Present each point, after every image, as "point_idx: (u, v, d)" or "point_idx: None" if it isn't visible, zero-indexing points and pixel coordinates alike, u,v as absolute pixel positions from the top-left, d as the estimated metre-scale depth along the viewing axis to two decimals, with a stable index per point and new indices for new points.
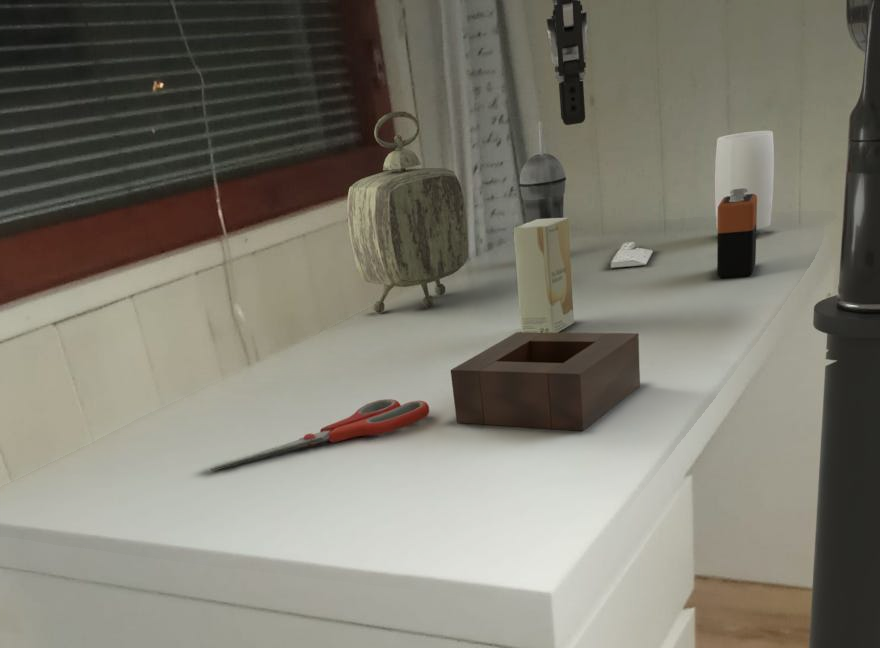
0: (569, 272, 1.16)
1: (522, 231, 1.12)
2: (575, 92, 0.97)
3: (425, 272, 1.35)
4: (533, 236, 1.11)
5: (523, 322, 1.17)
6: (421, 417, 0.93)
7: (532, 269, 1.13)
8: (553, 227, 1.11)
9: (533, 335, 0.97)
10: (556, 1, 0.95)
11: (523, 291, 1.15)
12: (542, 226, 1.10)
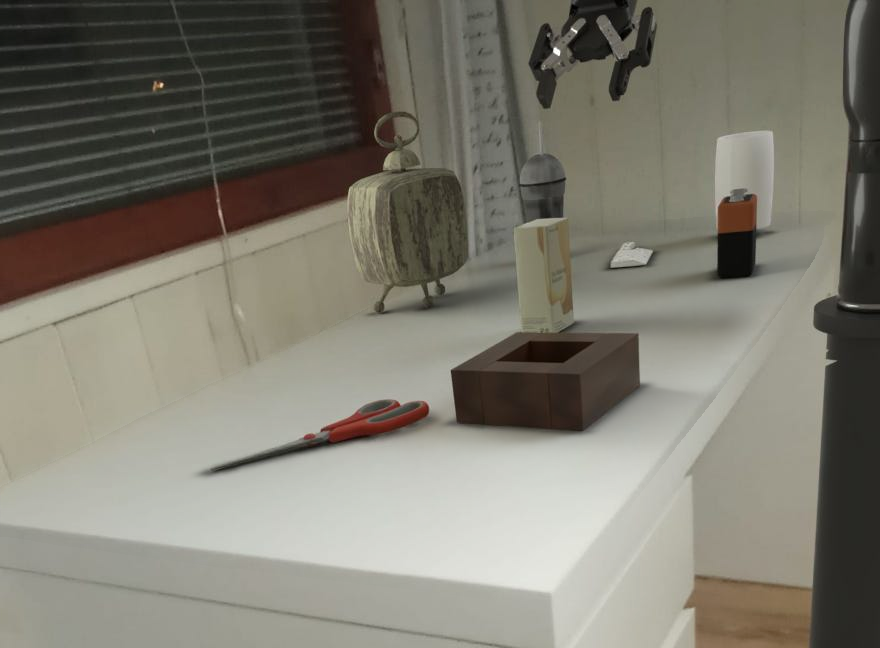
0: (569, 272, 1.16)
1: (522, 231, 1.12)
2: None
3: (425, 272, 1.35)
4: (533, 236, 1.11)
5: (523, 322, 1.16)
6: (421, 417, 0.93)
7: (532, 269, 1.13)
8: (553, 227, 1.11)
9: (533, 335, 0.97)
10: None
11: (523, 291, 1.15)
12: (542, 226, 1.10)
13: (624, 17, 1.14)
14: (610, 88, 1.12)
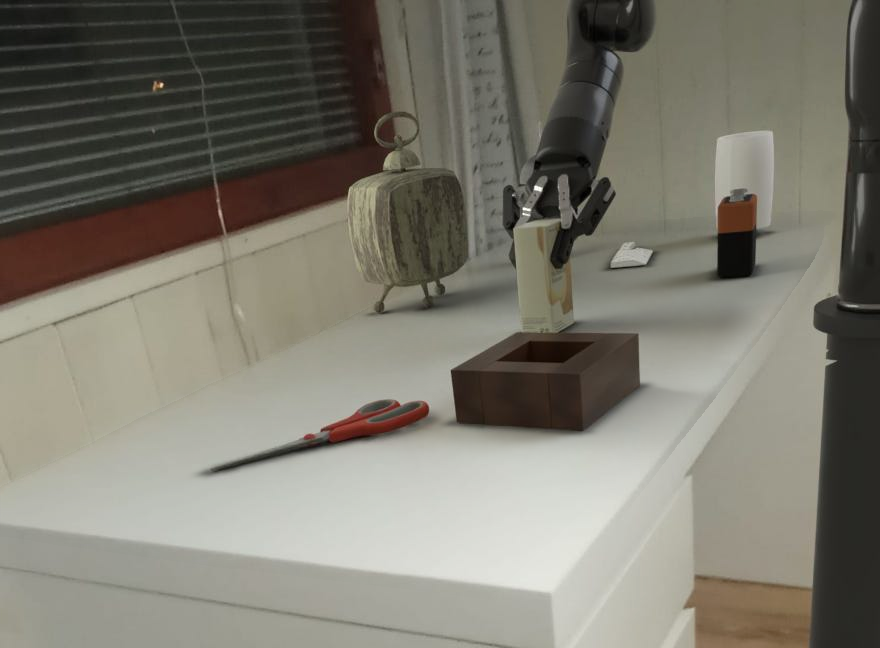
0: (569, 272, 1.16)
1: (522, 231, 1.12)
2: None
3: (425, 272, 1.35)
4: (533, 236, 1.11)
5: (523, 322, 1.17)
6: (421, 417, 0.93)
7: (532, 269, 1.13)
8: (553, 227, 1.11)
9: (533, 335, 0.97)
10: None
11: (523, 291, 1.15)
12: (542, 226, 1.10)
13: (585, 176, 1.12)
14: (552, 258, 1.12)
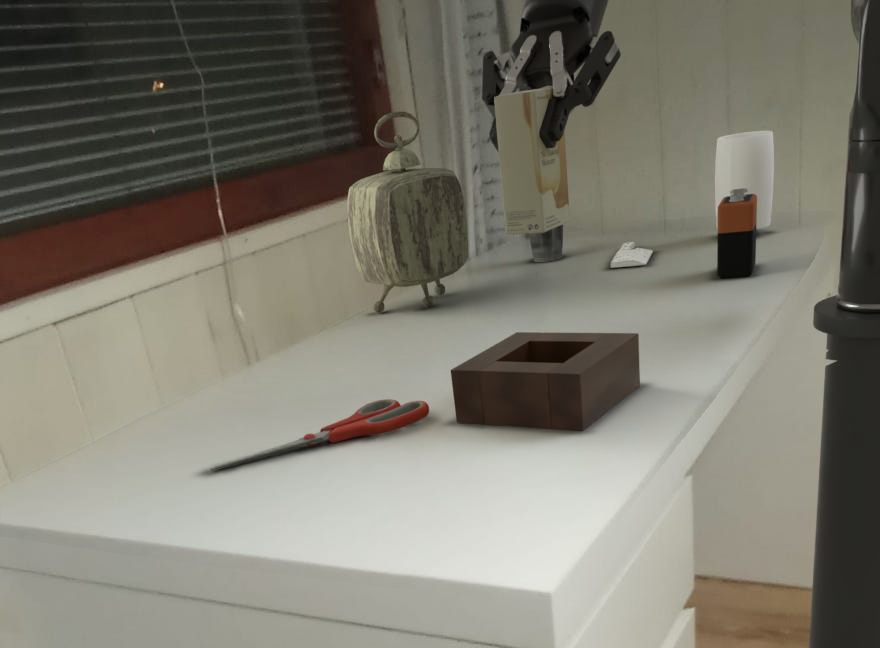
0: (563, 156, 0.95)
1: (504, 100, 0.90)
2: None
3: (425, 272, 1.35)
4: (518, 106, 0.90)
5: (507, 218, 0.95)
6: (421, 417, 0.93)
7: (517, 149, 0.92)
8: (543, 94, 0.90)
9: (533, 335, 0.97)
10: None
11: (507, 178, 0.93)
12: (529, 92, 0.89)
13: (583, 33, 0.91)
14: (541, 132, 0.90)
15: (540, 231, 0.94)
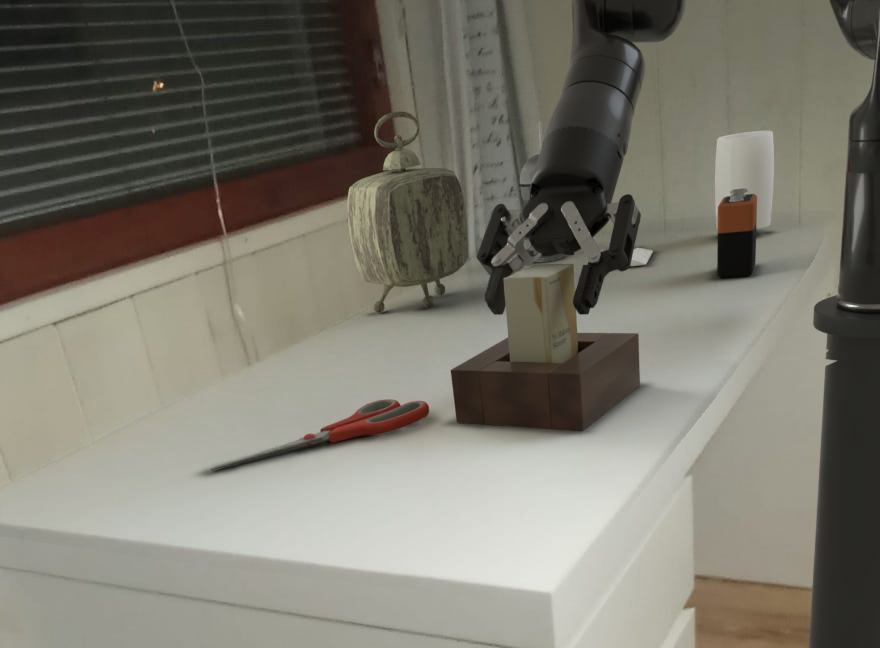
0: (575, 332, 0.91)
1: (514, 282, 0.87)
2: None
3: (425, 272, 1.35)
4: (528, 290, 0.86)
5: None
6: (421, 417, 0.93)
7: (527, 331, 0.88)
8: (554, 278, 0.86)
9: None
10: None
11: (516, 357, 0.90)
12: (540, 277, 0.85)
13: (597, 204, 0.87)
14: (575, 301, 0.85)
15: None
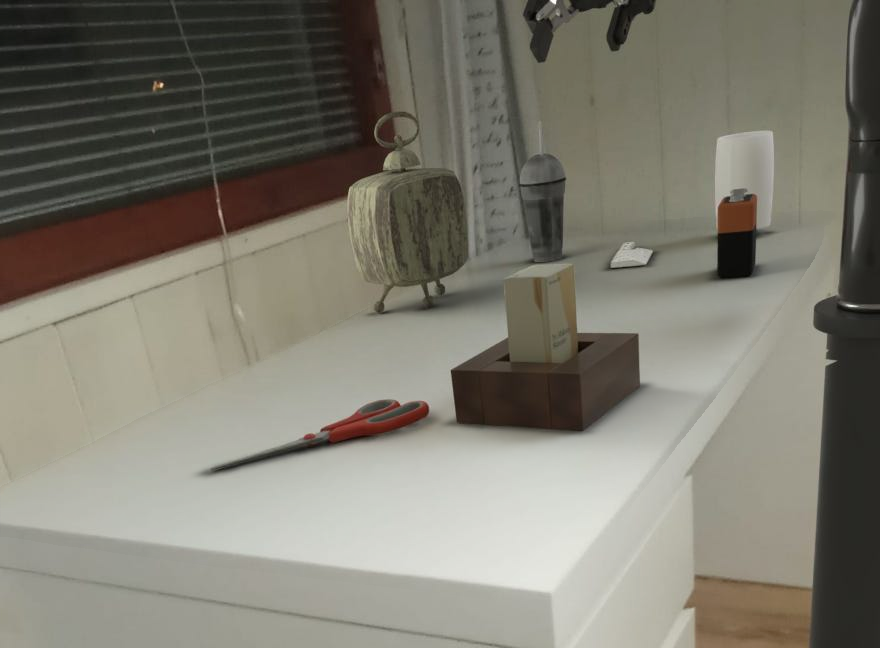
0: (575, 332, 0.91)
1: (514, 282, 0.87)
2: (535, 34, 1.08)
3: (425, 272, 1.35)
4: (528, 290, 0.86)
5: None
6: (421, 417, 0.93)
7: (527, 331, 0.88)
8: (554, 278, 0.86)
9: None
10: None
11: (516, 357, 0.90)
12: (540, 277, 0.85)
13: None
14: (608, 36, 1.02)
15: None
